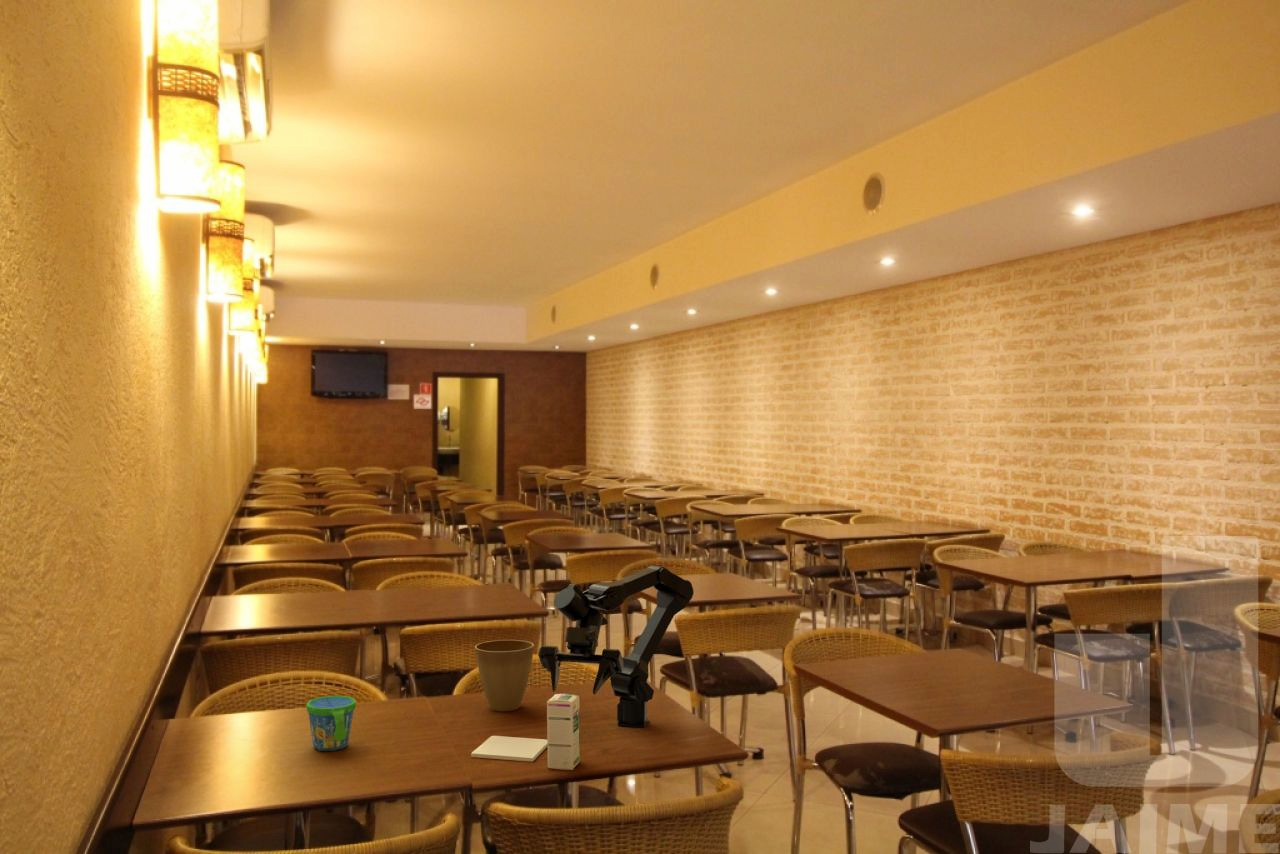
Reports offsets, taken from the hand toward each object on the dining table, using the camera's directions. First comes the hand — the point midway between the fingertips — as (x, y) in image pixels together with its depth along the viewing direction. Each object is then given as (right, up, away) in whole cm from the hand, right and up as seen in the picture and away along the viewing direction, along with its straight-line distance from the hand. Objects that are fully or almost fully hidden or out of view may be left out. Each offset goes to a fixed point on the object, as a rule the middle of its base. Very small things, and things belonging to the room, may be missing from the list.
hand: (573, 692), depth 227 cm
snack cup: (-54, -13, +4) cm, 56 cm away
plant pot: (-20, -13, +36) cm, 43 cm away
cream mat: (-14, -13, +2) cm, 19 cm away
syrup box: (-2, -14, -8) cm, 16 cm away
